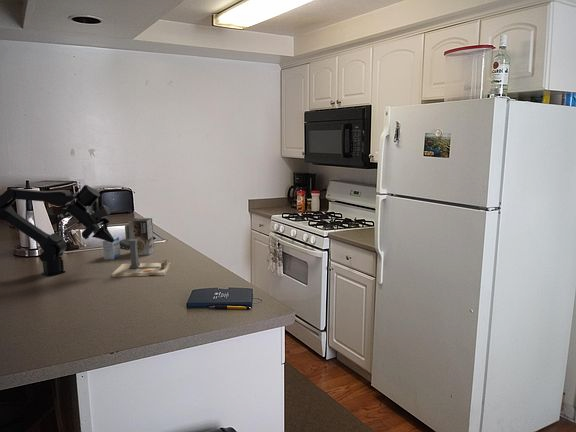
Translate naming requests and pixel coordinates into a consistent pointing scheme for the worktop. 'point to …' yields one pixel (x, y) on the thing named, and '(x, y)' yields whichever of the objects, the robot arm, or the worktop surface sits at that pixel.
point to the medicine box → (111, 249)
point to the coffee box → (142, 234)
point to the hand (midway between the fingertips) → (113, 241)
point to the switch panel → (142, 269)
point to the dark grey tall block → (134, 253)
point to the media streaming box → (125, 243)
